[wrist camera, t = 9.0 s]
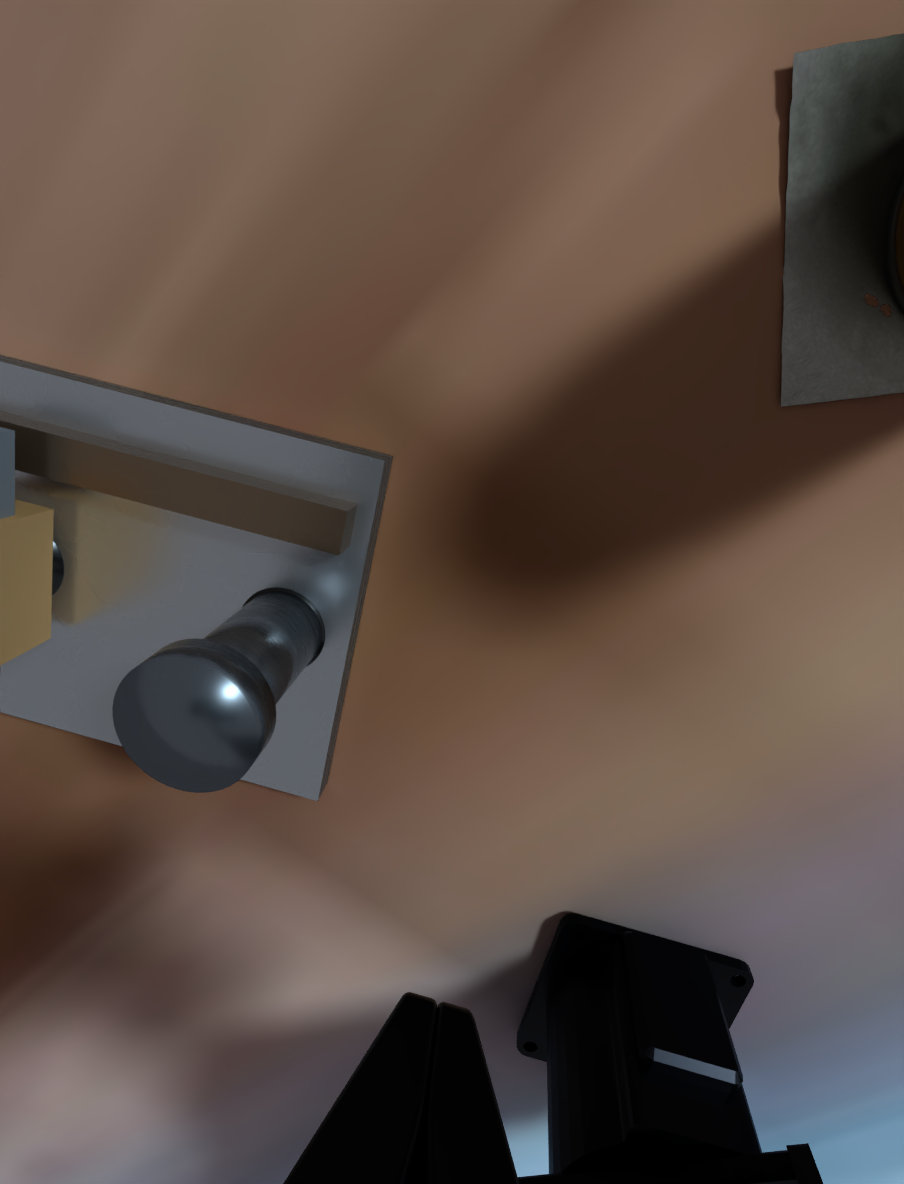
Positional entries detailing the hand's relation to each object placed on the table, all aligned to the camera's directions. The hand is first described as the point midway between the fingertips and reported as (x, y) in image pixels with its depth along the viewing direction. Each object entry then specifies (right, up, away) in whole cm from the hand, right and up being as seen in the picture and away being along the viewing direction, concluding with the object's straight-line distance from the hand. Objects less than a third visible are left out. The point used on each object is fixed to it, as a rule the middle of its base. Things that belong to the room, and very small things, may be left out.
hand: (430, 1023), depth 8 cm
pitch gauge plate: (-10, +6, +12) cm, 17 cm away
